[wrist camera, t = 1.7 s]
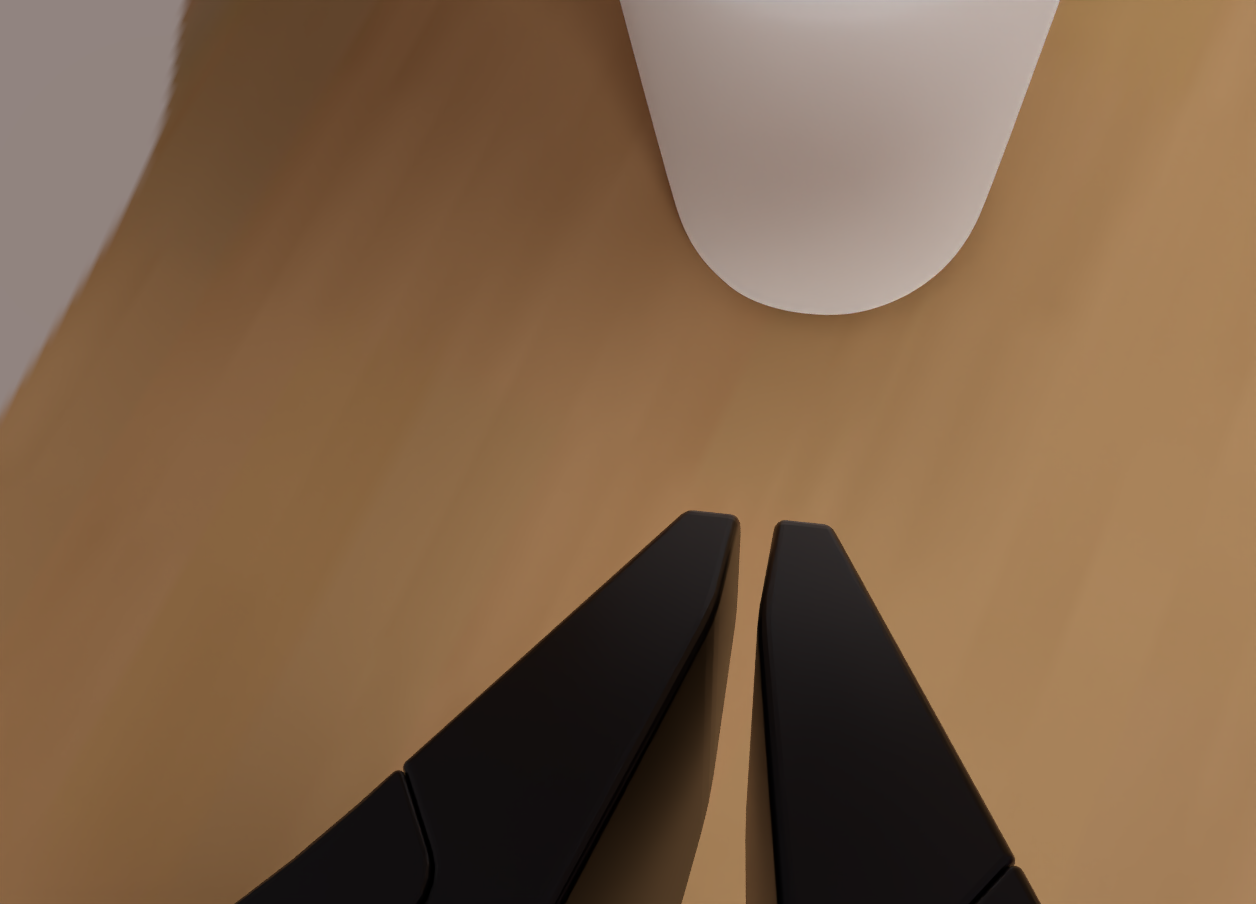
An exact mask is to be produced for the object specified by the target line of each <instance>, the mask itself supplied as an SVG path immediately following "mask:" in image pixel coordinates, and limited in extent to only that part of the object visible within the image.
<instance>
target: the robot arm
mask: <svg viewBox="0 0 1256 904" xmlns="http://www.w3.org/2000/svg"><path fill="white" fill-rule="evenodd" d="M739 553H740V522H739V520H738V518H737V517H736V516H734V515H731V514H722V513H713V512H703V511H687V512H685V513H683V514H681V515H680V516H679V517H678V518H677V519H676V520H675V521H674V522H672V523H671V524H670V525H669V526H668V527H667V528H666V529H665V530H664V531H662V532H661V533H660V534H659V535H658V536H657V537H656V538H655V539H653V540H652V541H651V542H650V543H649V544H648V545H647V546H646V547H645V548H643V549H642V550H641V551H640V552H639V553H638V554H637V555H636V556H635V557H633V558H632V559H631V560H630V561H629V562H628V563H627V564H626V565H625V566H623V567H622V568H621V569H620V570H619V571H618V572H617V573H616V574H614V575H613V576H612V577H611V578H610V579H609V580H608V581H607V582H606V583H604V584H603V585H602V586H601V587H600V588H599V589H598V590H597V591H596V592H594V593H593V594H592V595H591V596H590V597H589V598H588V599H587V600H585V601H584V602H583V603H582V604H581V605H580V606H579V607H578V608H577V609H575V610H574V611H573V612H572V613H571V614H570V615H569V616H568V617H567V618H565V619H564V620H563V621H562V622H561V623H560V624H559V625H558V626H557V627H555V628H554V629H553V630H552V631H551V632H550V633H549V634H548V635H546V636H545V637H544V638H543V639H542V640H541V641H540V642H539V643H538V644H536V645H535V646H534V647H533V648H532V649H531V650H530V651H529V652H528V653H526V654H525V655H524V656H523V657H522V658H521V659H520V660H519V661H518V662H516V663H515V664H514V665H513V666H512V667H511V668H510V669H509V670H507V671H506V672H505V673H504V674H503V675H502V676H501V677H500V678H499V679H497V680H496V681H495V682H494V683H493V684H492V685H491V686H490V687H489V688H487V689H486V690H485V691H484V692H483V693H482V694H481V695H480V696H479V697H477V698H476V699H475V700H474V701H473V702H472V703H471V704H470V705H468V706H467V707H466V708H465V709H464V710H463V711H462V712H461V713H460V714H458V715H457V716H456V717H455V718H454V719H453V720H452V721H451V722H450V723H448V724H447V725H446V726H445V727H444V728H443V729H442V730H441V731H440V732H438V733H437V734H436V735H435V736H434V737H433V738H432V739H431V740H429V741H428V742H427V743H426V744H425V745H424V746H423V747H422V748H421V749H419V750H418V751H417V752H416V753H415V754H414V755H413V756H412V757H411V758H409V759H408V760H407V761H406V762H405V764H404V766H403V771H404V772H402V771H399V770H398V771H395V772H393V773H392V774H391V775H390V776H389V777H388V778H386V779H385V780H384V781H383V782H382V783H381V784H380V785H379V786H378V787H376V788H375V789H374V790H373V791H372V792H371V793H370V794H369V795H367V796H366V797H365V798H364V799H363V800H362V801H361V802H360V803H359V804H357V805H356V806H355V807H354V808H353V809H352V810H350V811H349V812H348V813H347V814H346V815H344V816H343V817H342V818H341V819H340V820H339V821H337V822H336V823H335V824H334V825H333V826H332V827H330V828H329V829H328V830H327V831H326V832H324V833H323V834H322V835H321V836H320V837H319V838H317V839H316V840H315V841H314V842H313V843H311V844H310V845H309V846H308V847H307V848H306V849H304V850H303V851H302V852H301V853H300V854H299V855H297V856H296V857H295V858H294V859H293V860H291V861H290V862H289V863H287V864H286V865H285V866H283V867H282V868H281V869H279V870H278V871H277V872H276V873H274V874H273V875H272V876H270V877H269V878H268V879H266V880H265V881H264V882H262V883H261V884H260V885H259V886H257V887H256V888H255V889H253V890H252V891H251V892H249V893H248V894H247V895H246V896H244V897H243V898H242V899H240V900H239V901H238V902H236V903H235V904H681V903H682V900H683V896H684V892H685V889H686V885H687V882H688V878H689V874H690V871H691V867H692V864H693V860H694V857H695V853H696V849H697V846H698V842H699V839H700V835H701V831H702V827H703V823H704V819H705V815H706V811H707V807H708V803H709V797H710V792H711V786H712V780H713V775H714V768H715V761H716V754H717V747H718V740H719V733H720V726H721V719H722V712H723V705H724V698H725V691H726V684H727V677H728V670H729V663H730V656H731V649H732V642H733V636H734V628H735V620H736V610H737V595H738V574H739ZM745 846H746V904H1041V903H1040V901H1039V900H1038V898H1037V896H1036V894H1035V892H1034V890H1033V889H1032V887H1031V885H1030V883H1029V881H1028V879H1027V878H1026V876H1025V874H1024V872H1023V871H1022V869H1021V868H1019V867H1017V866H1014V864H1015V858H1014V855H1013V853H1012V852H1011V850H1010V848H1009V846H1008V844H1007V843H1006V841H1005V839H1004V837H1003V835H1002V834H1001V832H1000V830H999V828H998V826H997V825H996V823H995V821H994V819H993V817H992V815H991V814H990V812H989V810H988V808H987V806H986V805H985V803H984V801H983V799H982V797H981V796H980V794H979V792H978V790H977V788H976V787H975V785H974V783H973V781H972V779H971V777H970V776H969V774H968V772H967V770H966V768H965V767H964V765H963V763H962V761H961V759H960V758H959V756H958V754H957V752H956V750H955V749H954V747H953V745H952V743H951V741H950V739H949V738H948V736H947V734H946V732H945V730H944V729H943V727H942V725H941V723H940V721H939V720H938V718H937V716H936V714H935V712H934V711H933V709H932V707H931V705H930V703H929V701H928V700H927V698H926V696H925V694H924V692H923V691H922V689H921V687H920V685H919V683H918V682H917V680H916V678H915V676H914V674H913V673H912V671H911V669H910V667H909V665H908V663H907V662H906V660H905V658H904V656H903V654H902V653H901V651H900V649H899V647H898V645H897V644H896V642H895V640H894V638H893V636H892V635H891V633H890V631H889V629H888V627H887V625H886V624H885V622H884V620H883V618H882V616H881V615H880V613H879V611H878V609H877V607H876V606H875V604H874V602H873V600H872V598H871V597H870V595H869V593H868V591H867V589H866V587H865V586H864V584H863V582H862V580H861V578H860V577H859V575H858V573H857V571H856V569H855V568H854V566H853V564H852V562H851V560H850V559H849V557H848V555H847V553H846V551H845V549H844V548H843V546H842V544H841V542H840V540H839V539H838V537H837V535H836V533H835V532H834V530H833V529H832V528H831V527H829V526H828V525H825V524H816V523H807V522H797V521H788V520H783V521H780V522H778V523H777V525H776V526H775V528H774V532H773V538H772V543H771V549H770V554H769V560H768V565H767V570H766V576H765V581H764V587H763V592H762V597H761V603H760V609H759V617H758V627H757V643H756V660H755V676H754V692H753V708H752V724H751V740H750V756H749V772H748V788H747V805H746V839H745Z"/></svg>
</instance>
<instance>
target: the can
mask: <svg viewBox="0 0 1256 904" xmlns="http://www.w3.org/2000/svg"><path fill="white" fill-rule="evenodd" d="M1059 1H1060V0H620V3H621V7H622V11H623V15H624V18H625V22H626V26H627V30H628V33H629V37H630V41H631V45H632V48H633V52H634V56H635V60H636V63H637V67H638V71H639V74H640V78H641V82H642V86H643V89H644V93H645V97H646V100H647V104H648V108H649V111H650V115H651V119H652V123H653V126H654V130H655V134H656V137H657V141H658V145H659V148H660V152H661V155H662V159H663V163H664V166H665V170H666V173H667V177H668V181H669V184H670V187H671V191H672V194H673V198H674V201H675V205H676V208H677V211H678V214H679V217H680V219H681V222H682V224H683V227H684V229H685V231H686V233H687V235H688V237H689V239H690V241H691V243H692V244H693V246H694V248H695V249H696V251H697V252H698V254H699V255H700V256H701V258H702V259H703V260H704V261H705V263H706V264H707V265H708V266H709V267H710V268H711V269H712V270H713V271H714V272H715V273H716V274H717V275H718V276H719V277H720V278H721V279H722V280H723V281H724V282H725V283H727V284H728V285H729V286H730V287H732V288H733V289H734V290H736V291H737V292H739V293H740V294H742V295H744V296H745V297H747V298H749V299H752V300H754V301H756V302H759V303H761V304H764V305H767V306H770V307H774V308H777V309H782V310H786V311H792V312H798V313H806V314H819V315H840V314H850V313H857V312H862V311H866V310H870V309H874V308H877V307H880V306H883V305H886V304H888V303H891V302H893V301H895V300H898V299H900V298H902V297H904V296H906V295H908V294H909V293H911V292H913V291H915V290H916V289H918V288H919V287H921V286H922V285H924V284H925V283H926V282H928V281H929V280H930V279H932V278H933V277H934V276H935V275H936V274H938V273H939V272H940V271H941V270H942V269H943V268H944V267H945V266H946V265H947V264H948V263H949V262H950V261H951V260H952V259H953V257H954V256H955V255H956V254H957V252H958V251H959V250H960V249H961V247H962V246H963V244H964V243H965V241H966V240H967V238H968V236H969V235H970V233H971V231H972V229H973V228H974V226H975V224H976V222H977V220H978V217H979V215H980V213H981V210H982V208H983V206H984V203H985V201H986V198H987V196H988V193H989V191H990V188H991V185H992V183H993V180H994V178H995V175H996V172H997V170H998V167H999V164H1000V162H1001V159H1002V156H1003V154H1004V151H1005V148H1006V146H1007V143H1008V140H1009V137H1010V135H1011V132H1012V129H1013V127H1014V124H1015V121H1016V119H1017V116H1018V113H1019V110H1020V108H1021V105H1022V102H1023V100H1024V97H1025V94H1026V91H1027V89H1028V86H1029V83H1030V81H1031V78H1032V75H1033V72H1034V70H1035V67H1036V64H1037V61H1038V59H1039V56H1040V53H1041V50H1042V48H1043V45H1044V42H1045V40H1046V37H1047V34H1048V31H1049V29H1050V26H1051V23H1052V20H1053V18H1054V15H1055V12H1056V9H1057V7H1058V4H1059Z"/></svg>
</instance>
